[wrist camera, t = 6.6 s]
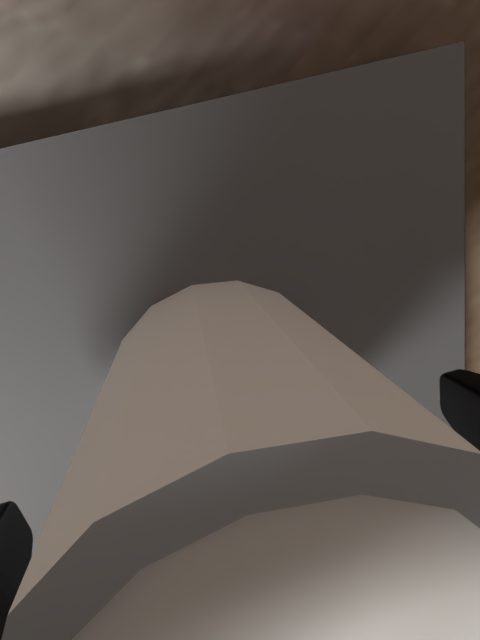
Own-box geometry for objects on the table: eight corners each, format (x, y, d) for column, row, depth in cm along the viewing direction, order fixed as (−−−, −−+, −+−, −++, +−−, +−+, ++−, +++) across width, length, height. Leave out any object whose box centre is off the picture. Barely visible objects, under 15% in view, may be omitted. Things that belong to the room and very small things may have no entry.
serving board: (432, 51, 10) (464, 40, 9) (443, 461, 16) (464, 485, 15) (-173, 191, 9) (-216, 198, 8) (57, 581, 15) (50, 617, 14)
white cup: (250, 193, 10) (424, 287, 3) (388, 389, 13) (630, 645, 6) (22, 375, 10) (-188, 739, 4) (201, 523, 13) (244, 882, 7)
